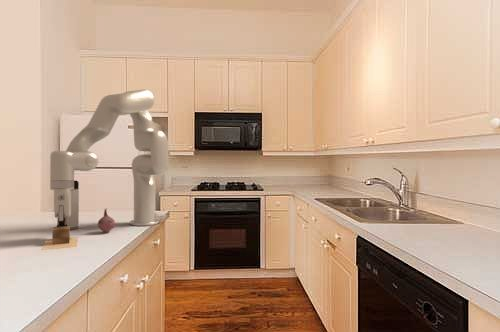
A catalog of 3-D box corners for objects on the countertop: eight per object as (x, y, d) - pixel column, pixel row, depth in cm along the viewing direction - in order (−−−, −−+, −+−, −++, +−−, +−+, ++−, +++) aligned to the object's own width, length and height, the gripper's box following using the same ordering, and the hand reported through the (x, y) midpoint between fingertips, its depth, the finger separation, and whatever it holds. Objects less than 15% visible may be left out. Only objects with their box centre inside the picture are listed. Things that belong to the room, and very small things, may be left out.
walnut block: (69, 240, 120) (69, 226, 120) (69, 243, 115) (69, 228, 115) (53, 241, 118) (53, 227, 118) (52, 244, 113) (52, 229, 113)
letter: (77, 237, 125) (77, 237, 125) (77, 247, 111) (77, 246, 111) (46, 240, 120) (46, 239, 120) (41, 250, 107) (41, 249, 107)
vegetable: (95, 233, 133) (95, 208, 133) (110, 230, 137) (110, 206, 137) (101, 235, 129) (101, 209, 129) (117, 233, 133) (117, 208, 133)
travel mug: (82, 227, 144) (82, 180, 143) (72, 230, 137) (72, 181, 137) (68, 226, 144) (68, 180, 144) (58, 229, 138) (58, 181, 137)
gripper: (73, 186, 116) (73, 239, 116) (74, 183, 130) (74, 231, 130) (48, 187, 113) (47, 241, 113) (52, 183, 126) (51, 232, 127)
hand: (62, 235), depth 121 cm, fingers closed
